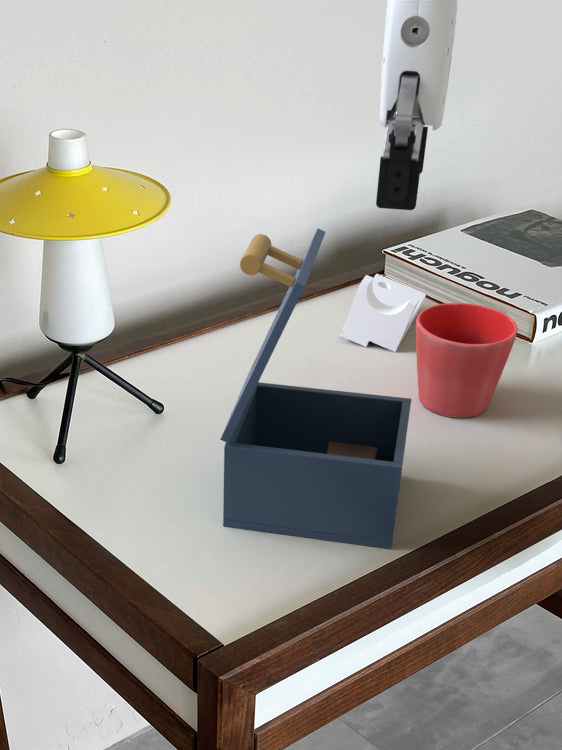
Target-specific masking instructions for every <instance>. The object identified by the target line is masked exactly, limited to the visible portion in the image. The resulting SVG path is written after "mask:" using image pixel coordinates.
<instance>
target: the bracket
mask: <svg viewBox="0 0 562 750" xmlns="http://www.w3.org/2000/svg"><path fill="white" fill-rule="evenodd" d="M426 296H427V294H426V293H424V292H422V291H419V290H417V289H414V288H412V287H411V286H407V285H405V284H403V283H400V282H397V281H395V280H393V279H391V278H388V277H386V276H383V275H381V274H379V273H376V274H374V276H370V275H367V274H365V276H364V277H363V278H362V280H361V282H360V283H359V286H358V288H357V290H356V293H355V295H354V298H353V301H352V304H351V307H350V308H349V311H348V314H347V316H346V319H345V322H344V324H343V327H342V329H341V333H340V337H342V338H344V339H347V340H349V341H351V342H353V343H356V344H358V345H360V346H363V347H365V348H367V347H368V345H369V343H370V342H371V343H373V344H375V345H378V346H380V347H383V348H384V349H387V350H389V351H391V352H394V353H396V352H397V350H398V349H399V347H400V345H401V343H402V341H403V340H404V338H405V337H406V334H407V333H408V331H409V330H410V328H411V326H412V325H413V323H414V321H415V320H416V318H417V316H418V315H419V313H420V310H421V308H422V306H423V303H424V301H425V299H426Z"/></svg>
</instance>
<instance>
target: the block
mask: <svg viewBox="0 0 562 750" xmlns="http://www.w3.org/2000/svg"><path fill="white" fill-rule="evenodd" d="M377 449H378V448H377V447H372V446H363V445H355V444H346V443H338V442H329V445H328V449H327V453H326V454H331V455H339V456H348V457H356V458H364V459H373V460H376V458H377Z"/></svg>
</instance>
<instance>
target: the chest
mask: <svg viewBox="0 0 562 750" xmlns="http://www.w3.org/2000/svg"><path fill="white" fill-rule="evenodd" d="M411 405H412V398H408V397H399V396H390V395H383V394H382V395H381V394H370V393H363V392H353V391H344V390H336V389H335V390H333V389H324V388H316V387H306V386H296V385H287V384H278V383H269V382H261V381H259V382H258V384H257V386H256V388H255V390H254V392H253V394H252V396H251V398H250V400H249V402H248V404H247V406H246V408H245V410H244V412H243V414H242V416H241V419H240V421H239V423H238V425H237V427H236V429H235V431H234V433H233V435H232V437H231V439H230V441H229V443H226V442H225V443H224V446H223V501H222V502H223V508H222V510H223V511H222V512H223V513H222V516H223V517H222V526H223V527H228V528H233V529H242V530H248V531H257V532H265V533H270V534H271V533H272V534H278V535H285V536H293V537H301V538H307V539H316V540H323V541H328V542H329V541H330V542H336V543H337V542H338V543H345V544H351V545H359V546H367V547H374V548H381V549H388V550H389V549H390V550H391V549H392V544H393V538H394V532H395V531H394V530H395V523H396V515H397V509H398V502H399V501H398V500H399V494H400V486H401V479H402V473H403V464H404V457H405V449H406V442H407V436H408V435H407V434H408V426H409V419H410V412H411ZM329 442H338V443H346V444H355V445H363V446H372V447H377V448H378V449H377V458H376V460H373V459H364V458H356V457H348V456H339V455H331V454H326V453H327V449H328V445H329Z"/></svg>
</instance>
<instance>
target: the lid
mask: <svg viewBox="0 0 562 750" xmlns="http://www.w3.org/2000/svg"><path fill="white" fill-rule="evenodd" d="M325 235H326V231H325V230H323V229H321V228H316V230H315V233H314V235H313V237H312V238H311V241H310V243H309V245H308V247H307V249H306V251H305V254H304V256H303V257H302V259H301V258H299V257H297V256H295V255H292V254H290V253H288V252H286V251H284V250H282V249H279V248H278V247H275V246H273V245H272V241H271V239H270V237H269V236H267V235H266V234H263V233H259V234H256V235H254V236H253V237H252V238H251V241H250V243H249V244H248V246H247V248H246V250H245V252H244V253H243V255H242V257H241V258H240V260H239V268H240V270H241V271H242V272H243V273H244V274H245V275H247V276H255V275H257V274H258V273H259V274H262V275H263V276H265V277H267V278H270V279H272V280H274V281H276V282H279V283H280V284H283V285H285V286H287V287H288V289H287V291H286V294H285V296H284V298H283V300H282V302H281V303H280V306H279V308H278V311H276V312H277V313H276V315H275V316H274V318H273V321H272V322H271V325H270V327H269V329H268V331H267V334H266V336H265V338H264V340H263V342H262V344H261V346H260V348H259V351H258V353H257V354H256V356H255V359H254V361H253V363H252V364H251V367H250V369H249V372H248V373H247V376H246V377H245V380H244V382H243V385H242V387H241V390H240V392H239V394H238V397H237V399H236V401H235V404H234V406H233V408H232V411H231V413H230V415H229V417H228V420H227V423H226V425H225V428H224V430H223V432H222V435H221V436H220V441H222V442H224V443H225V444H226V443H229V441H230V439H231V437H232V435H233V433H234V431H235V429H236V427H237V425H238V423H239V421H240V419H241V416H242V414H243V412H244V410H245V408H246V406H247V404H248V402H249V400H250V398H251V396H252V394H253V392H254V390H255V388H256V386H257V384H258V382H260V379H261V377H262V376H263V373H264V372H265V369H266V367H267V365H268V363H269V361H270V359H271V356H272V355H273V353H274V351H275V349H276V347H277V345H278V343H279V340H280V339H281V337H282V334H283V333H284V331H285V329H286V326H287V324H288V322H289V320H290V318H291V316H292V314H293V312H294V309H295V308H296V306H297V304H298V301H299V300H300V298H301V295H302V293H303V292H304V289H305V288H306V285H307V282H308V280H309V277H310V274H311V271H312V269H313V267H314V264H315V261H316V259H317V256H318V253H319V251H320V248H321V246H322V243H323V240H324V238H325ZM267 257H271V258H273V259H275V260H277V261H278V262H279V261H280V262H281V263H282V264H283V263H284V264H286V265H288V266H289V267H292V268H294V269H296V270H297V271H296V272H295V275H294V276H293V275H291V274H288V273H286V272H284V271H282V270H280V269H278V268H276V267H274V266H271V265H270V264H268V263H265V262H266V259H267Z"/></svg>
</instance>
